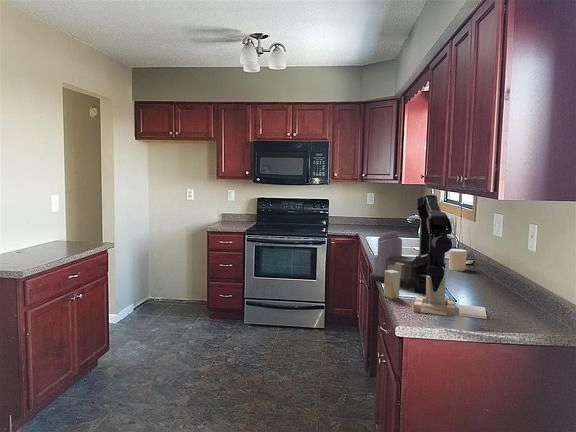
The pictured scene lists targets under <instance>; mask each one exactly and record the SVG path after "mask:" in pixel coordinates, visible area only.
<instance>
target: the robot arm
mask: <svg viewBox="0 0 576 432" xmlns="http://www.w3.org/2000/svg"><path fill="white" fill-rule="evenodd" d="M440 207H441V206H440V205H439V203H438V196H437V195H435V194H424V195H423V196H422V197H419V198H417V199H416V201H415V203H414V208H415V209H414V210H415V211H416V212H415V213H416V215H417V217H418V218H419V250H418V251H419V252H418V255H416V256H415V257H413V263H414V266H413V270H412V276H413V277H414V278H416V288H414V291H413V292H414V293H420V294H426V276H430V277H431V280H432V286H433V291H434V292H437V290H438V288H439V285H440V283H441V281H442V279H443V277H445V275H446V273H445V272H446V264H447V263H446V253H449V250H450V249H453V248H452V247H453V243H452V240H451V239H450V237H448V235H452V232H453V226H452V222H451V219H450V218H449V216H448V214H447V213H445V212H443V211H441V208H440ZM416 274H417V275H416Z"/></svg>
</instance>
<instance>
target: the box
mask: <svg viewBox="0 0 576 432" xmlns="http://www.w3.org/2000/svg"><path fill="white" fill-rule="evenodd" d="M400 288H401V287H400V272H398V271H394V270H385V279H384V283H383V296H384V297H386V298H388V299H400Z"/></svg>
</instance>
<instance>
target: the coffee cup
mask: <svg viewBox="0 0 576 432" xmlns="http://www.w3.org/2000/svg"><path fill="white" fill-rule="evenodd" d="M467 255H468V251H467V250H466V249H462V248H461V249H460V248H451V249H450V250H449V251H448V269H449V270H451V271H457V272H459V271H460V272H463V271H466V267H467V266H466V263H467Z"/></svg>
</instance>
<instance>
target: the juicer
mask: <svg viewBox="0 0 576 432" xmlns="http://www.w3.org/2000/svg"><path fill="white" fill-rule="evenodd" d="M413 258H414V257H413ZM413 258H412V257H409V256H404V255H403V239H402V238H401V237H399V232H398V231H390V232H385V234H382V235H381V236H379V237H378V239H377V254H376V256H374V257H373V259H372V260H373V261H372V262H373V265H372V272H370V275H369V279H372V280H373V281H377V282H384V279H385V270H394V271H398V272H400V287H399V288H402V289H406V290H411V289H415V288H416V278H414V277H413V276H412V270H413V266H414V263H413ZM416 275H417V274H416Z"/></svg>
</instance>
